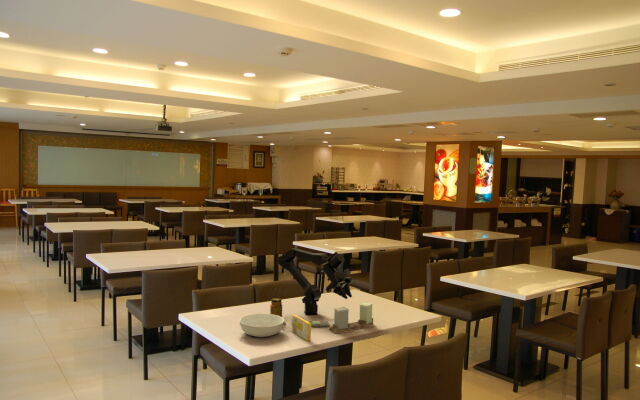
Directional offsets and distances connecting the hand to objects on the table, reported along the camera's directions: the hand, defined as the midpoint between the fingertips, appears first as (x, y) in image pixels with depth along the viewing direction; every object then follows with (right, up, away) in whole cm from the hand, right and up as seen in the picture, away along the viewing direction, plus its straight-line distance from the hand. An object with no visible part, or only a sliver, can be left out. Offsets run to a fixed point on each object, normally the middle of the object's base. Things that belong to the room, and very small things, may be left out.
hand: (349, 297), depth 250 cm
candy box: (-24, -14, -22) cm, 36 cm away
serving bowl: (-43, -13, -21) cm, 49 cm away
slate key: (-5, -11, -15) cm, 19 cm away
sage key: (+8, -11, -5) cm, 15 cm away
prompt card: (-16, -13, -6) cm, 21 cm away
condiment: (-37, -12, -2) cm, 39 cm away
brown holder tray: (+1, -13, -9) cm, 16 cm away
